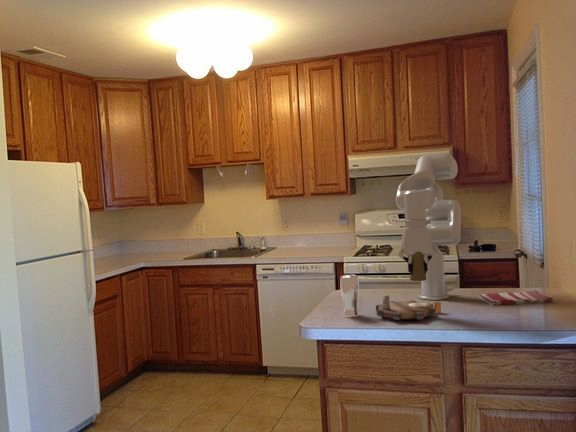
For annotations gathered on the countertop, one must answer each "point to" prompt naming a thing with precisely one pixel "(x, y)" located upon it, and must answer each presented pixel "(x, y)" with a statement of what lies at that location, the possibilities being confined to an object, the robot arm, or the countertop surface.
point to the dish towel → (515, 298)
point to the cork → (418, 267)
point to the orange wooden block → (436, 305)
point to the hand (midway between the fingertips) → (417, 273)
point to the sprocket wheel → (404, 309)
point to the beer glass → (350, 295)
